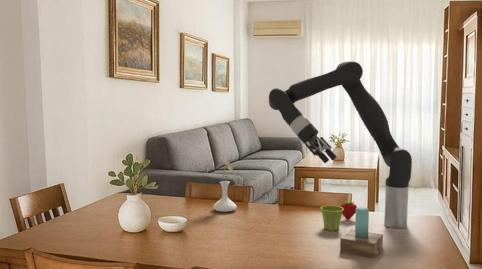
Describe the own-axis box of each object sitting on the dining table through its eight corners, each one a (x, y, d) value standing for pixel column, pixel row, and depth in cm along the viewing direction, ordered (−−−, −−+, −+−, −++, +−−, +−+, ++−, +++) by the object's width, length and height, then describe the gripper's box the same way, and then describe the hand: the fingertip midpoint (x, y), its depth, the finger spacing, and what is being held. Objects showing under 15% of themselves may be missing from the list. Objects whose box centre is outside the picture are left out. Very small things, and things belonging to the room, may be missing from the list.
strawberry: (358, 221, 203) (358, 199, 202) (340, 221, 203) (341, 199, 202) (355, 218, 209) (355, 196, 208) (338, 217, 209) (338, 196, 208)
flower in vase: (236, 213, 216) (236, 160, 213) (211, 213, 216) (211, 160, 213) (237, 206, 229) (237, 156, 226) (213, 206, 229) (213, 156, 226)
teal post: (357, 233, 171) (357, 206, 170) (369, 235, 168) (370, 208, 167) (353, 236, 167) (353, 209, 166) (366, 238, 164) (366, 211, 164)
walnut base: (350, 242, 176) (350, 229, 176) (382, 247, 170) (382, 234, 170) (340, 251, 166) (340, 238, 165) (373, 258, 160) (374, 244, 159)
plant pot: (343, 232, 188) (343, 211, 187) (319, 231, 190) (320, 210, 189) (343, 226, 197) (343, 206, 196) (320, 224, 199) (320, 204, 198)
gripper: (303, 124, 175) (331, 156, 171) (316, 121, 187) (343, 151, 183) (290, 137, 178) (317, 169, 174) (304, 134, 191) (330, 163, 186)
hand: (331, 160), depth 178 cm, fingers open, 8 cm apart
